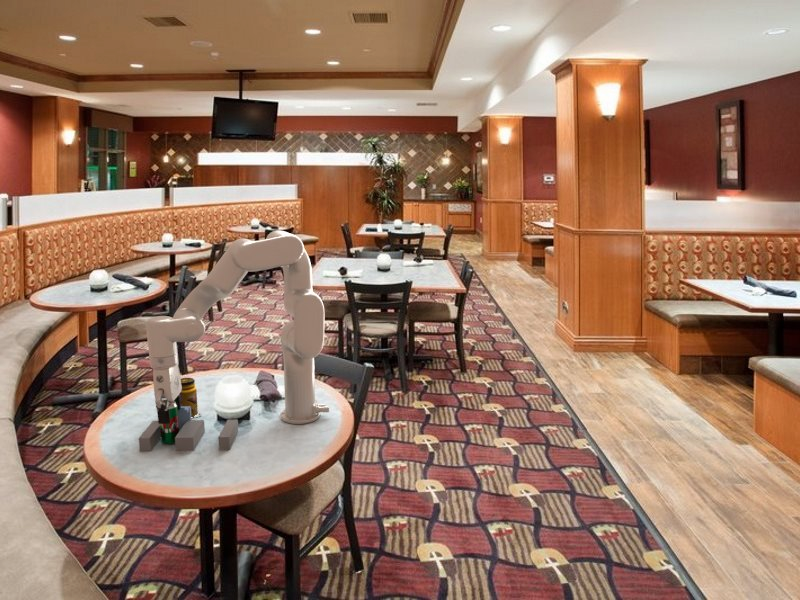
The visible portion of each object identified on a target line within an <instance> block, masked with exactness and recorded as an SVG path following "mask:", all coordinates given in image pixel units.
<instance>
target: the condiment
mask: <svg viewBox="0 0 800 600" xmlns="http://www.w3.org/2000/svg"><path fill="white" fill-rule="evenodd" d="M195 382H196V381H195V379H194V378H193V377H181V385H182V390H181V392H180V395H179V396H180V405H181V406H191V417H194V416H195V415H197V414H198V412H199V410H198V409H199V408H198V406H199V405H198V396H197V395H198V393H197V387H196V384H195Z"/></svg>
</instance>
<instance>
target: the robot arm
mask: <svg viewBox="0 0 800 600" xmlns="http://www.w3.org/2000/svg"><path fill="white" fill-rule="evenodd" d="M280 267H282V271H283V280H284V282H283V307H284V310H285V312H287V314H288V315H290V317H293V320H290V321H287V323H286V324H284V326H283V327H282V329H281V333H280V343H281V344H280V345H281V349H282V350H281V351H282V358H283V359H282V360H283V376H284V377H283V379H284V381H283V383H284V384H283V385H284V407H285V408H284V409H283V410H282V411H281V412H280V419H281V420H282V422H285V423H287V424H292V425H304V424H309V423H312V422H315V421H317V420H318V419H319V418H320V417H321V413H330V406H328V405H327V404H326V403H322V404H319V403H318V399H316V386H315V382H316V381H315V358H316V357H317V356H319V354H320V353H321V351H322V350H323V348H324V344H325V306H324V303H323V300H322V298H321V297H320V296H319V295H318V294H317V293H315V292H314V291H313V290H314V289H313V274H312V273H313V272H312V271H313V268H312V264H311V259H310V257H309V255H308V253H307V251H306V249H305V246H304V243H303V241H302V240H301V238H300V237H298V236H297V235H295V234H293V233H289V232H287V231H284V230H273V231H271V232H269V234H267V236H266V239H261V240H251V239H248V238H244V237H243V238H238V239H236V240H234V241H233V242H232V243H231V244H230V245H229V247H228V248H227V249H226V250H225V252H224V253H223V254H222V256H221V257H220V258H219V260H218V261H217V262H216V263H215V265H214V267H213V268H212V269H211V271H209V273H208V274H207V276H206V277H205V278H204V279H203V280H201V282H199V283H198V285H196V287H194V288H193V289H192V290H191V291H190V292H189V294H188V295H187V296H186V298H184V300H183V301H182V303H181V304H180V305H179V307H178V308H177V310H176V311H175V313H174V315H173V316H172V317H171V316H167V315H158V316H153V317H150V318H148V319H147V320H146V322H145V330H146V339H147V347H148V355H149V365H150V368H151V369H152V374H153V375H152V378H153V392H154V393H153V394H154V403H155V408H156V413H157V421H158V423H159V424H169V423H170V422H171V421H170V411H169V410H168V405H169V401H170V402H173V401H175V402H176V404H177V409H178V410H180V408H181V405H180V396H179V395H180V392H181V390H182V385H181V379H182V377H181V372H180V367H179V354H178V352H179V351H178V344H177V343H184V342H185V343H193V342H197V341H199V340H200V339H201V338H203V336H204V335H205V333H206V326H205V322H204V321H203V318H204V316H205V315H206V314H207V313H208V311H209V310H210V309H211V308H212V307H213V305H215V304H216V303H217V302H219V301H221V300H224V299H226V298H228V297H230V296H231V295H232V294H233V293H234V292H235V290H236V289H237V288H238V286H239V285H240V283H241V282H242V281H243V279H244V278H245V277H246V276H247V274H248V272H259V271H266V270H271V269H274V268H280ZM162 403H165V406H164V404H162Z"/></svg>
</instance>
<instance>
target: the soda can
mask: <svg viewBox="0 0 800 600" xmlns="http://www.w3.org/2000/svg"><path fill="white" fill-rule="evenodd" d="M162 404H164V406H165V403H162ZM168 410H169V411H170V421H171V422H170V423H169V424H160V431H161V438H160V439H161V440H160V442H161V443H162V444H164V445H168V446H169V445H174V444H175V437H176V436H177V434H178V433H179V422H178V409H177V404H176V402H175V401H173V402H170V401H169V405H168Z"/></svg>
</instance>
